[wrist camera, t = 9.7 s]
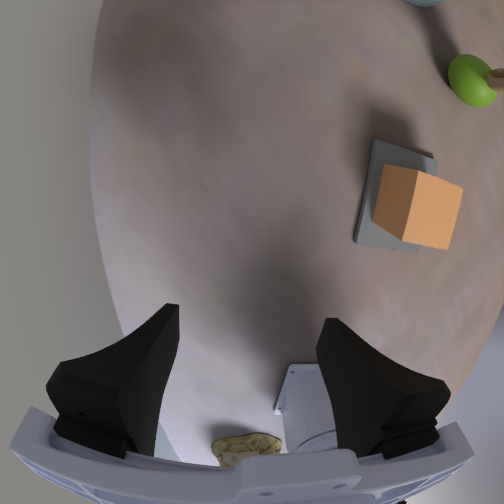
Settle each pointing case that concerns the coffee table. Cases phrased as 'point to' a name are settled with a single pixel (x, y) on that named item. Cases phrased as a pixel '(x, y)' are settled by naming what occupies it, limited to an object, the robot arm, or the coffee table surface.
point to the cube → (417, 206)
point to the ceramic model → (244, 448)
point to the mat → (379, 156)
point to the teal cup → (425, 2)
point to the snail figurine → (475, 80)
